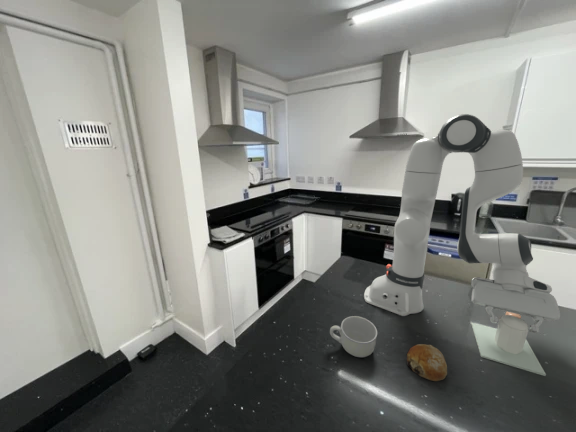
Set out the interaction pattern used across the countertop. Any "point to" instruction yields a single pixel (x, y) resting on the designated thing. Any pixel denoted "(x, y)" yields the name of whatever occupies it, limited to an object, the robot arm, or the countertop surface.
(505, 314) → the brown egg
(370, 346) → the teacup
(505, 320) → the domed hexagonal post
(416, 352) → the bread roll
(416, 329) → the countertop surface
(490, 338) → the mat
